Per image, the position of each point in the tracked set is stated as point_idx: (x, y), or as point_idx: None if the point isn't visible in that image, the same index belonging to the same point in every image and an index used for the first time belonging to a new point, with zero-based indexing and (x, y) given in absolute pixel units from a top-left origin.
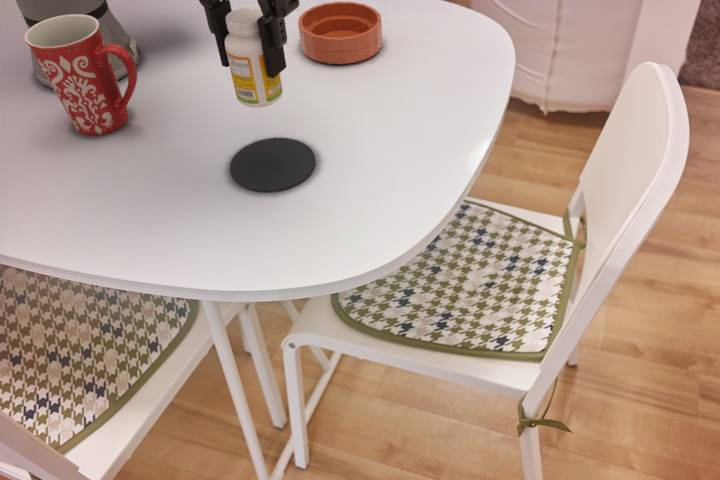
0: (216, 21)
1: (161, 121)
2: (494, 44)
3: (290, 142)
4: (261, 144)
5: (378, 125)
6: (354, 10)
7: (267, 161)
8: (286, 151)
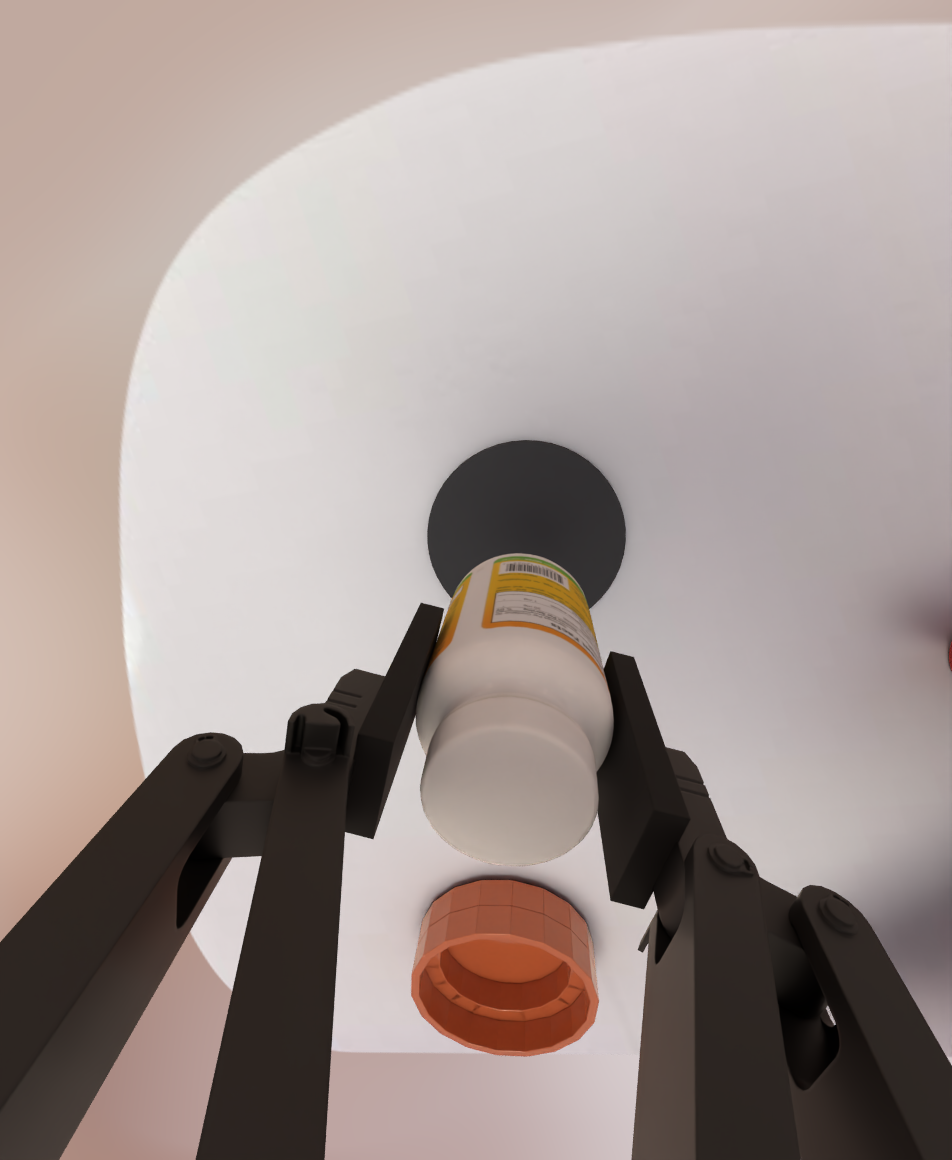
0: (645, 768)
1: (851, 659)
2: (219, 949)
3: None
4: None
5: None
6: (491, 1031)
7: (538, 544)
8: None
